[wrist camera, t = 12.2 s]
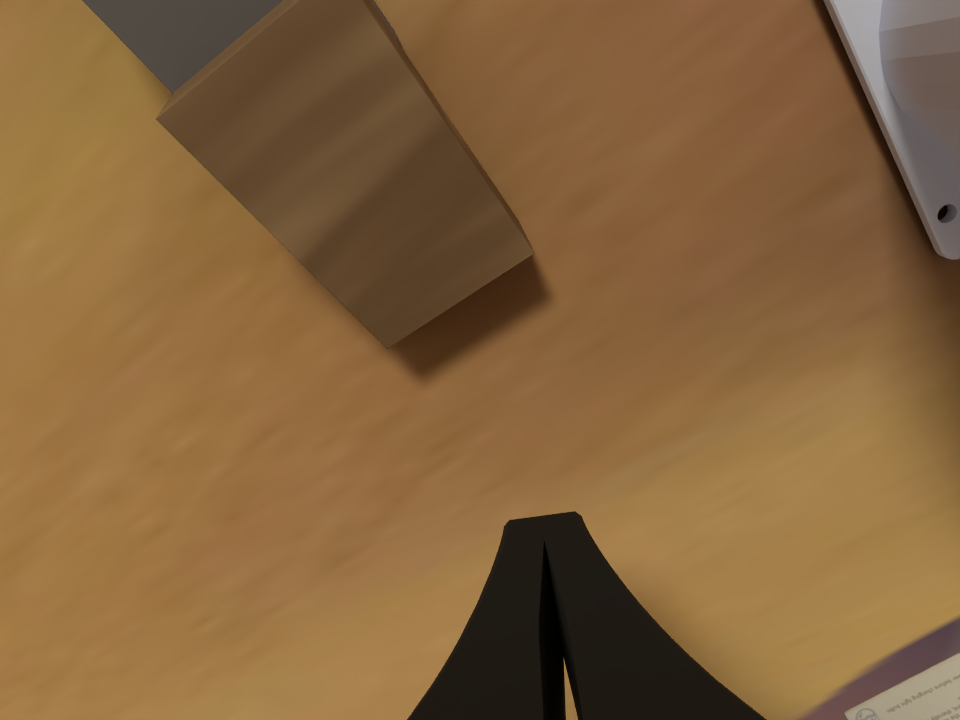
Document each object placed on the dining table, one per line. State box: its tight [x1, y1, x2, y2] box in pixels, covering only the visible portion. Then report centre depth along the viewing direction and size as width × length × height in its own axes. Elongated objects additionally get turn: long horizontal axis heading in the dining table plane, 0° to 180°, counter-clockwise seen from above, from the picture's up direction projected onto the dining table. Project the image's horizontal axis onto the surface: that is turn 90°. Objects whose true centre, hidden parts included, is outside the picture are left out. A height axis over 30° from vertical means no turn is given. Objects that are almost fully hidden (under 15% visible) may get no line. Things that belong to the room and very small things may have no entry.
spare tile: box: [156, 0, 534, 349], centre depth 16 cm, size 2×5×8 cm
